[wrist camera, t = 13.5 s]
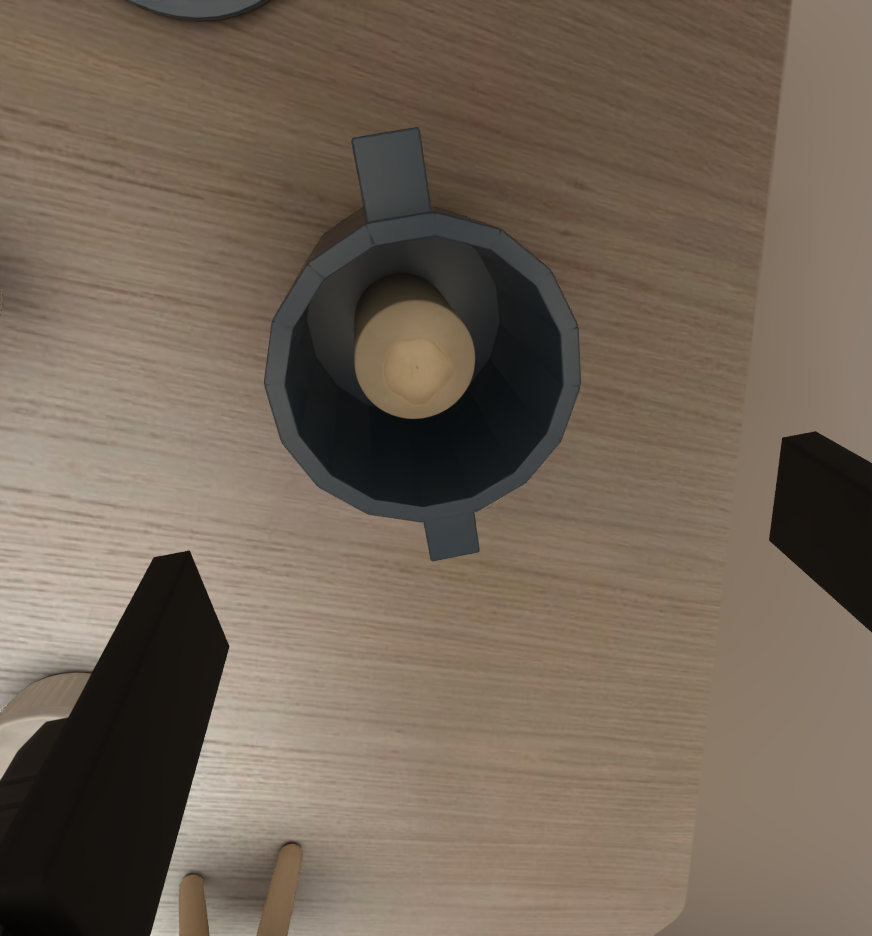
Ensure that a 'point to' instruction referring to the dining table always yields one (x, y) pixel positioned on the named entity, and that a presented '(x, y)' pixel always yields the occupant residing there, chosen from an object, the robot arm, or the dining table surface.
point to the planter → (276, 904)
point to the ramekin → (37, 711)
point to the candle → (410, 348)
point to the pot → (495, 343)
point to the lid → (198, 8)
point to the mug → (1, 301)
